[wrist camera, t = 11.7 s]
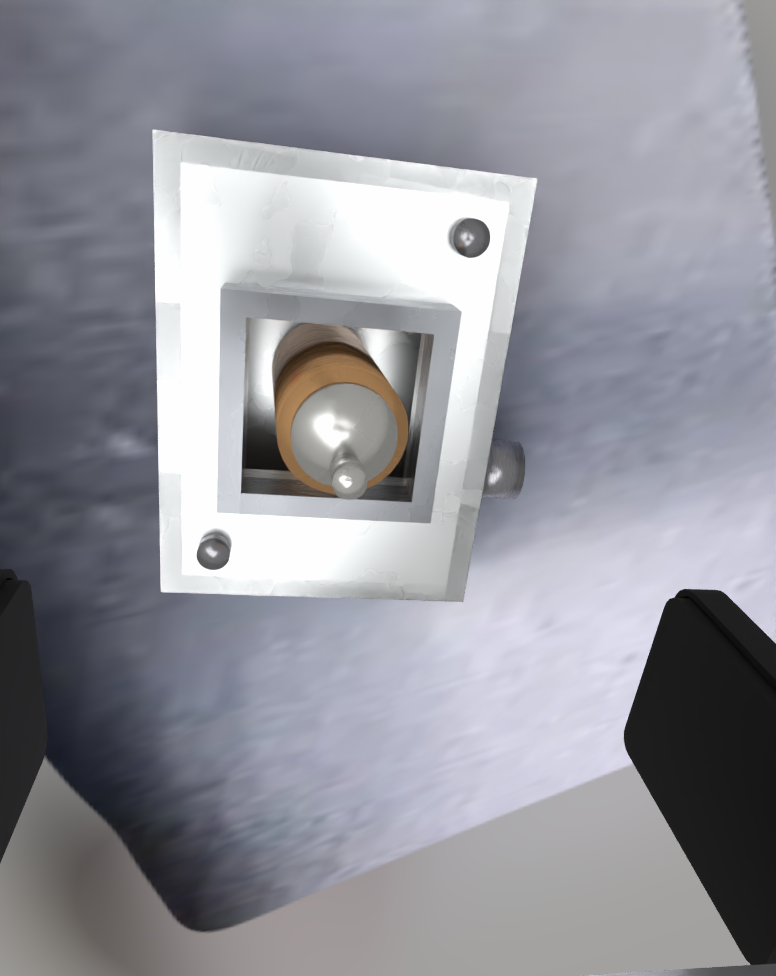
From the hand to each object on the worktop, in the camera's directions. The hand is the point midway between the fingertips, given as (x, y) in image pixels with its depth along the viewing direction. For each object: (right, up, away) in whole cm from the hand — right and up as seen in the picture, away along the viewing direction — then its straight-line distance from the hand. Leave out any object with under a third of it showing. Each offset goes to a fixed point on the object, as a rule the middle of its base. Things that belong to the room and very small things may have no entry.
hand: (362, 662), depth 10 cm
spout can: (-2, +7, +18) cm, 20 cm away
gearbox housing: (-2, +8, +19) cm, 20 cm away
